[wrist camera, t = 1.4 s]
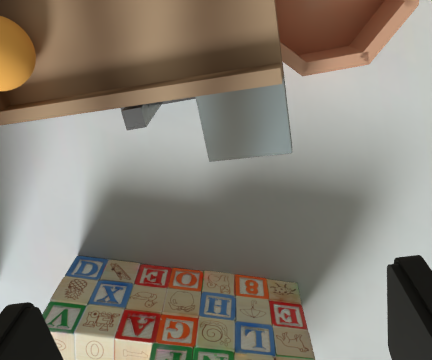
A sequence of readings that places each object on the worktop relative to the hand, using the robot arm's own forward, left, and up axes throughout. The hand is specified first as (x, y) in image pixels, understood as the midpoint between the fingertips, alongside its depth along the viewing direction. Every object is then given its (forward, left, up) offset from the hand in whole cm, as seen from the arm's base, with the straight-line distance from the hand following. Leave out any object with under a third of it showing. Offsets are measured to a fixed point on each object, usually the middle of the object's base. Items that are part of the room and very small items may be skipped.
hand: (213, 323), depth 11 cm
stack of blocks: (+7, +18, -23) cm, 30 cm away
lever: (+5, -5, -18) cm, 19 cm away
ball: (+11, -7, -14) cm, 19 cm away
